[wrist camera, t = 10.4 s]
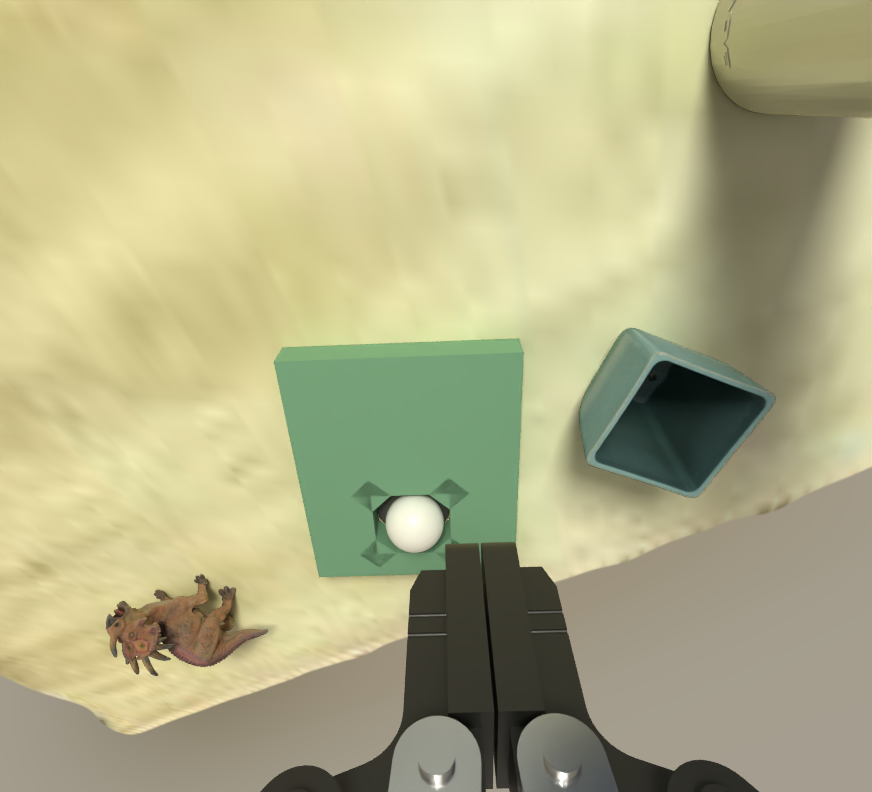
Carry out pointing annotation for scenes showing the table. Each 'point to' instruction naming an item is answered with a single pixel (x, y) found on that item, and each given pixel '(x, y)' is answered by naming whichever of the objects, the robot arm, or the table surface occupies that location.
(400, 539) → the ball
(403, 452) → the putting mat
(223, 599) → the dinosaur figurine
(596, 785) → the robot arm
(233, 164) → the table surface
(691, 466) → the flower pot
